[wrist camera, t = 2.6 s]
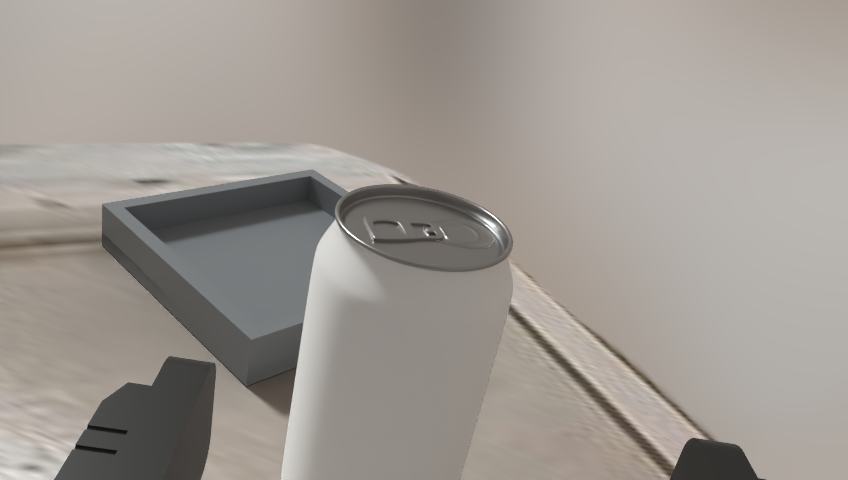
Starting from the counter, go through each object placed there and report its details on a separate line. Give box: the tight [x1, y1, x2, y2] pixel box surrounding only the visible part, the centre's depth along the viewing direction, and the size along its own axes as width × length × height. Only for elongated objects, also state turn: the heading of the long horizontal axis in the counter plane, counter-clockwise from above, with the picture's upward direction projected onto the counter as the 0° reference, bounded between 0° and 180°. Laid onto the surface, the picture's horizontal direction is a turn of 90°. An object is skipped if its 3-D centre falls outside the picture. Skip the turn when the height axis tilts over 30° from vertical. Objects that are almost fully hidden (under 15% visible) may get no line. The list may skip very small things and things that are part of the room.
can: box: [281, 184, 513, 480], centre depth 26 cm, size 6×6×12 cm
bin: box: [102, 170, 349, 386], centre depth 42 cm, size 14×14×2 cm
